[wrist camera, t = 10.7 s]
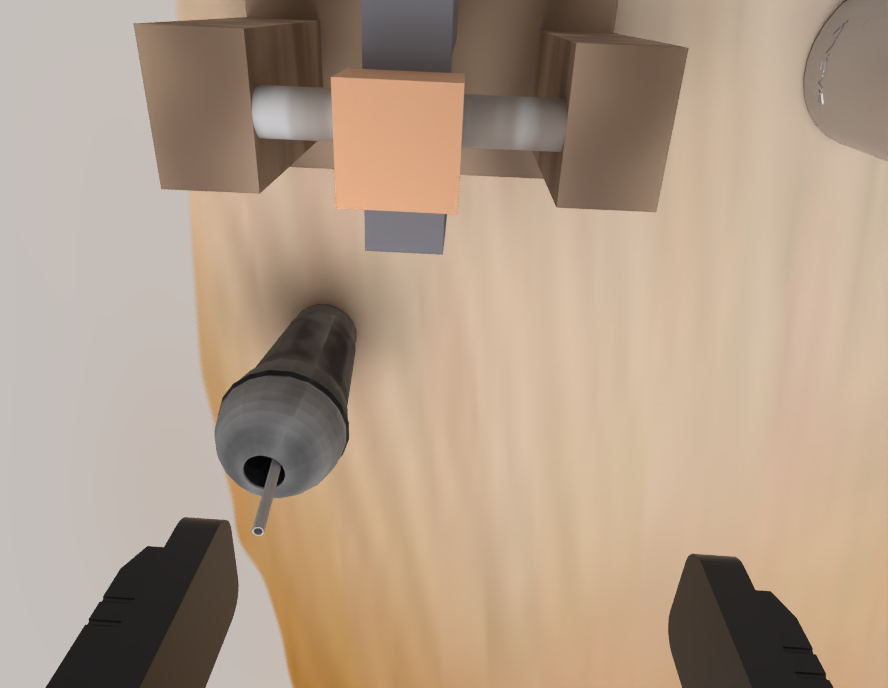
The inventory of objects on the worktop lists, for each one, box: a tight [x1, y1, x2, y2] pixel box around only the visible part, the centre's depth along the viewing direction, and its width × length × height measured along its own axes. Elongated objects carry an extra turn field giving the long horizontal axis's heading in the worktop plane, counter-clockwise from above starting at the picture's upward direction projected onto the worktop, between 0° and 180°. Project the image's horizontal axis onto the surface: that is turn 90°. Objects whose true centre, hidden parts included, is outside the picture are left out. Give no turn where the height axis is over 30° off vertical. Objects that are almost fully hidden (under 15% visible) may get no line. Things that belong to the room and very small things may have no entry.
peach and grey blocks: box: [331, 0, 465, 255], centre depth 26 cm, size 4×9×14 cm, turn 178°
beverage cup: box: [215, 305, 356, 536], centre depth 37 cm, size 7×7×20 cm
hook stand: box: [134, 0, 688, 212], centre depth 31 cm, size 20×10×15 cm, turn 88°
